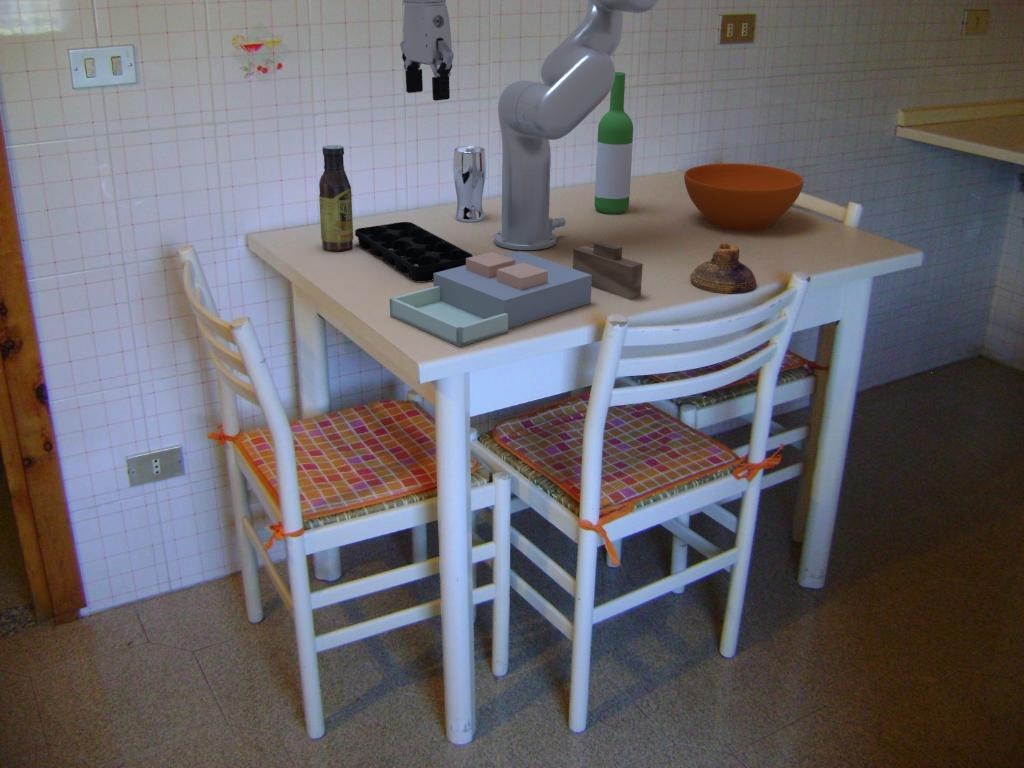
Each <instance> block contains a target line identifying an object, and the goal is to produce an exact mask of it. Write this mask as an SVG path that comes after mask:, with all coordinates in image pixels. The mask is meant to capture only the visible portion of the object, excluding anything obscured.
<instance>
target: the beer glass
mask: <svg viewBox="0 0 1024 768" xmlns="http://www.w3.org/2000/svg"><path fill="white" fill-rule="evenodd" d="M452 166H453V167H452V169H453V170H452V171H453V175H452V176H453V183H454V186H455V187H454V188H455V192H456V193H455V194H456V198H457V199H456V200H457V206H456V207H457V208H456V213H455V219H456V220H457V221H459V222H463V221H464V222H463V223H475V222H476V221H477V222H481V221H483V220H484V218H485V217H484V215H485V214H484V210H483V195H484V189H485V183H486V173H487V163H486V149H485V148H483V147H479V146H472V145H471V146H470V145H469V146H467V145H465V146H458V147H455V148H454V149H453V163H452Z"/></svg>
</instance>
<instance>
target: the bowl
mask: <svg viewBox="0 0 1024 768" xmlns="http://www.w3.org/2000/svg"><path fill="white" fill-rule="evenodd" d="M683 180H684V184H685V185H684V186H685V189H686V192H687V194H688V196H689V198H690V200H691V201H692V203H693V205H694V206H695V207H696V208H697V210H698V212H699V213H701V215H702V216H703V217H704V218H705V219H706V221H707V222H708V223H709V224H711V225H713V226H716V227H719V228H724V229H729V230H736V231H737V230H738V231H752V230H753V231H754V230H755V231H756V230H763V229H766V228H769V227H770V226H772V225H773V223H775V222H776V221H777V220H778V219H779V218H781V217H782V216H783V215H784V214H785V213H786V212H788V211H789V209H791V207H792V206H793V205H794V204H795V202H796V201H797V200H798V198H799V196H800V194H801V192H802V189H803V188H804V182H805V181H804V179H803V177H802V176H801V175H800V174H798V173H796V172H794V171H790V170H787V169H784V168H780V167H779V168H778V167H774V166H769V165H768V166H767V165H760V164H752V163H710V164H702V165H697V166H694V167H691V168H688V169H687V170H686V171H685V172H684V177H683Z"/></svg>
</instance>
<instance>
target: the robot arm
mask: <svg viewBox="0 0 1024 768" xmlns="http://www.w3.org/2000/svg"><path fill="white" fill-rule="evenodd" d="M446 2H447V0H402V5H403V7H404V8H403V22H402V23H403V24H402V25H403V26H402V27H403V28H402V33H403V34H402V35H403V36H402V37H403V38H402V41H401V42H400V45H399V47H400V50H401V54H402V56H401V58H402V60H403V63H404V64H403V69H404V72H405V92H406V93H408V94H413V93H421V92H423V90H424V86H423V84H424V83H423V69H422V68H421V66H422V65H425V66H426V65H427V66H430V68H431V71H432V74H433V76H432V77H431V86H432V87H431V90H432V100H433V101H435V102H436V101H445V100H449V99H450V98H451V97H450V95H451V94H450V92H451V91H450V77H451V74H452V72H451V71H452V69H453V60H454V58H455V57H454V56H455V54H454V52H453V45H452V33H451V23H450V16H449V10H448V6H447V3H446ZM658 2H659V0H587V8H586V14H585V16H584V19H583V20H582V21H581V22H580V24H579V25H578V26H577V27H576V28H575V29H574V30H572V32H571V33H570V34H569V35H568V36H567V37H566V38H564V40H563V41H562V42H561V43H560V44H558V46H556V48H555V49H553V50H552V51H551V52H550V53H549V54H548V56H546V58H545V59H544V61H543V63H542V65H541V69H540V77H541V80H542V82H543V83H540V82H536V81H532V80H518V81H515V82H512V83H510V84H509V85H506V87H505V88H504V89H503V91H502V93H501V94H500V96H499V100H498V106H497V114H498V121H499V126H500V134H501V146H502V147H501V148H502V149H501V150H502V155H501V156H502V157H501V158H502V163H501V164H502V165H501V166H502V167H501V171H502V172H501V230H500V231H497V232H496V233H495V234H493V243H494V244H496V245H497V246H498V247H501V248H505V249H507V250H515V251H536V250H544V249H548V248H550V247H553V246H554V245H556V243H557V236H556V234H554V233H553V231H554V230H555V229H556V228H557V229H558V228H562V227H565V225H566V219H565V217H563V216H560V217H557V218H554V219H553V218H552V217H550V191H551V190H550V187H551V167H552V166H551V165H552V160H551V159H552V155H551V152H552V151H551V144H550V140H551V141H553V140H559V139H561V138H563V137H565V136H568V135H569V133H571V132H572V131H573V130H574V129H576V128H577V127H578V126H579V125H580V123H582V122H583V121H584V120H585V119H586V118H587V117H588V116H589V115H590V114H591V113H592V112H593V111H594V110H595V109H596V108H597V107H599V105H601V103H602V102H603V101H604V100H605V99H606V98H607V96H608V95H609V93H611V88H612V86H613V83H614V79H615V72H616V68H615V64H614V62H613V59H611V56H612V55H613V54H614V53H615V51H616V50H617V49H618V47H619V46H620V43H621V40H622V35H623V23H624V22H623V21H624V19H623V18H624V13H625V12H626V13H630V14H631V13H633V14H643V13H646V12H649V11H650V10H652V9H653V8H655V6H656V5H657V4H658Z"/></svg>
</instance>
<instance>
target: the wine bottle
mask: <svg viewBox="0 0 1024 768" xmlns="http://www.w3.org/2000/svg"><path fill="white" fill-rule="evenodd" d="M625 87H626V73H625V72H624V71H615V79H614V83H613V86H612V88H611V90H610V96H609V97H610V100H609V109H608V111H607V112H606V113H605V114H604V115H602V117H601V118H600V121H599V122H598V127H597V141H596V142H597V143H596V159H595V160H596V163H595V181H594V182H595V185H594V208H595V209H596V211H597V212H600V213H601V214H610V215H612V214H617V215H619V214H622V213H626V212H627V211H628V210H629V206H630V195H631V179H632V178H631V177H632V160H633V142H634V141H633V140H634V139H633V137H634V124H633V121H632V119H631V117H630V116H629V114H627V113H626V112H625V109H624V108H625V91H626V89H625Z"/></svg>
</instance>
